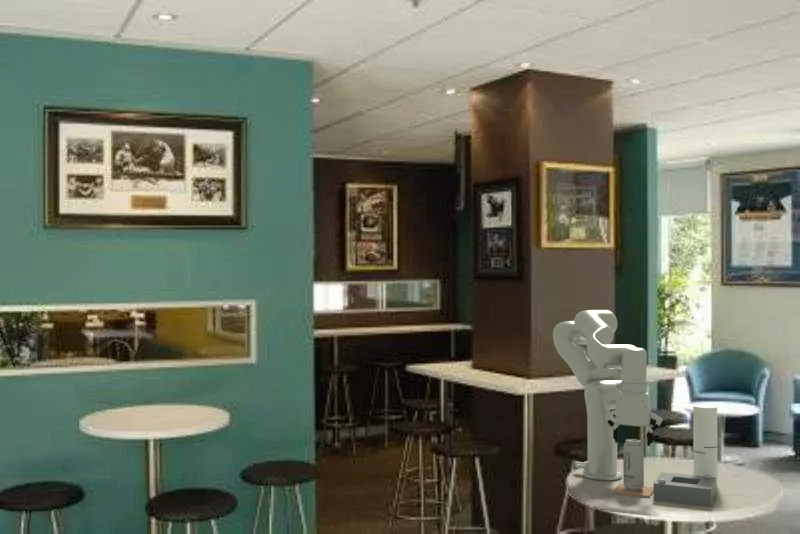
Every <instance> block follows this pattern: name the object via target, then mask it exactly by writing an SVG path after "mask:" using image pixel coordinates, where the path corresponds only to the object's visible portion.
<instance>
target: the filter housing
mask: <svg viewBox="0 0 800 534" xmlns="http://www.w3.org/2000/svg"><path fill="white" fill-rule="evenodd" d="M653 488H654V492H653V501H654V500H655V502H663V501H665V502H666V503H674V504H683V505H692V506H702V507H709V508H710V507H711V508H712V506H713V504H714V501H715V498H716V496H717V487H716V477H712V475H710V474H705V476H695V475H694V474H685V473H684V474H683V473H672V472H660V473H659V475H658V477H657V478H656V480H654V482H653Z"/></svg>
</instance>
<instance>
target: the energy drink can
mask: <svg viewBox="0 0 800 534" xmlns="http://www.w3.org/2000/svg"><path fill="white" fill-rule="evenodd" d="M644 448H645V446H644V445H643V442H642V440H641V439H637V438H625V442H624V444H623V453H622V454H623V463H622V464H623V467H622V469H623V472H622V477H623V481H622V482H623V483H622V484H623V486H624V487H625V489H626V490H628V491H642V488H643V487H645V486H644V485H645V483H644V482H645V481H644V479H645V478H644V477H645V476H644V475H645V472H644V471H645V466H644V465H645V460H644V458H645V453H644V452H645V451H644V450H645V449H644Z"/></svg>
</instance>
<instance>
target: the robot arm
mask: <svg viewBox="0 0 800 534" xmlns="http://www.w3.org/2000/svg"><path fill="white" fill-rule="evenodd" d="M617 329H618V318H617V316H616V315H615V313H614V312H612V311H611V310H608V309H589V310H588V309H587V310H581V311H579V312H578V313H577V314H575V317H574V319H573V320H566V321H561V322H559V323H558V324H556V325H555V326H554V328H553V331H552V338H553V339H552V340H553V343H554V347H555V349H556V351H557V353H558V354H559V356H560V357H561V359H563V360H564V361H565V363H566V364H567V365H568V366H569V368H570V369H571V371H572V373H573V374H574V376H575V377H576V379H577V381H578V382H579V384H580V385H581V386H582V387H583V388H584V391H583V392H584V401H585V406H586V407H585V408H586V414H587V415H586V416H587V460H586V461H584V462H582V461H575V462H574V467H575V468H576V469H583V471H582V476H583V477H584V478H588V479H591V480H595V481H596V480H597V481H616V480H620V479H622V477H623V472H621V471H618V442H620V428H619V426H630V427H631V426H632V427H640V428H642V427H643V428H645V429H646V430H647V433H646V446H648V447H650V446H651V444H653V443H654V432H655V431H656V430H657V429H659V427H660V426H661V424H662V422H663V420H664V419H663V418H662V417H660V416H659V415H657V414H656V413H653V411H651V401H650V394H649V392H647V362H648V361H647V360H648V359H647V355H648V354H647V350H646V349H645V348H643V347H637V346H635V345H633V344H612V342H613V340H614V334H615V332H616V331H617ZM582 345H586V348H585V347H583V346H582ZM651 419H653V420H655V421H656V422H655V424H654V425H652V424H651V421H652V420H651Z"/></svg>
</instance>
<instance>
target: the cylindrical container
mask: <svg viewBox="0 0 800 534" xmlns="http://www.w3.org/2000/svg"><path fill="white" fill-rule="evenodd" d="M692 407H693V409H692V410H693V412H692V414H693V415H692V416H693V421H692V425H693V426H692V427H693V433H692V435H693V438H692V439H693V441H692V442H693V449H692V450H693V475H695V476H705V474H710V475H712V477H716V488H718V485H719V484H718V481H719V480H718V476H719V475H718V406H716V405H712V404H694V405H693V406H692Z"/></svg>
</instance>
